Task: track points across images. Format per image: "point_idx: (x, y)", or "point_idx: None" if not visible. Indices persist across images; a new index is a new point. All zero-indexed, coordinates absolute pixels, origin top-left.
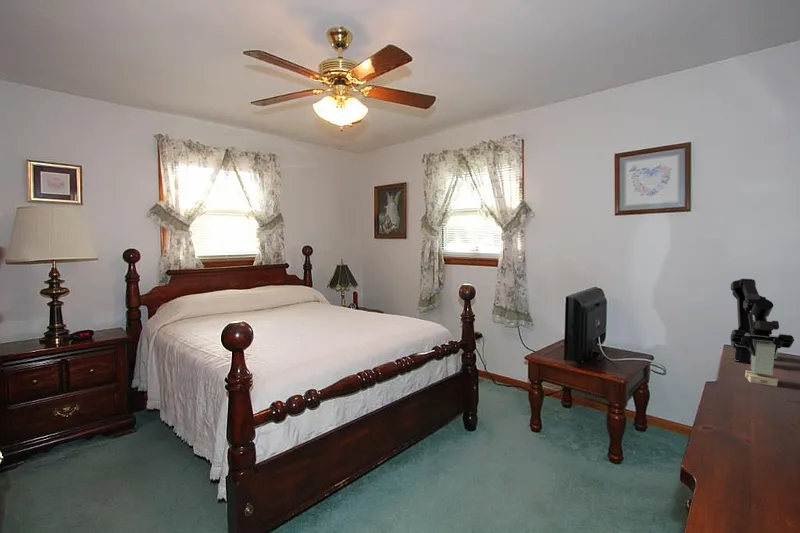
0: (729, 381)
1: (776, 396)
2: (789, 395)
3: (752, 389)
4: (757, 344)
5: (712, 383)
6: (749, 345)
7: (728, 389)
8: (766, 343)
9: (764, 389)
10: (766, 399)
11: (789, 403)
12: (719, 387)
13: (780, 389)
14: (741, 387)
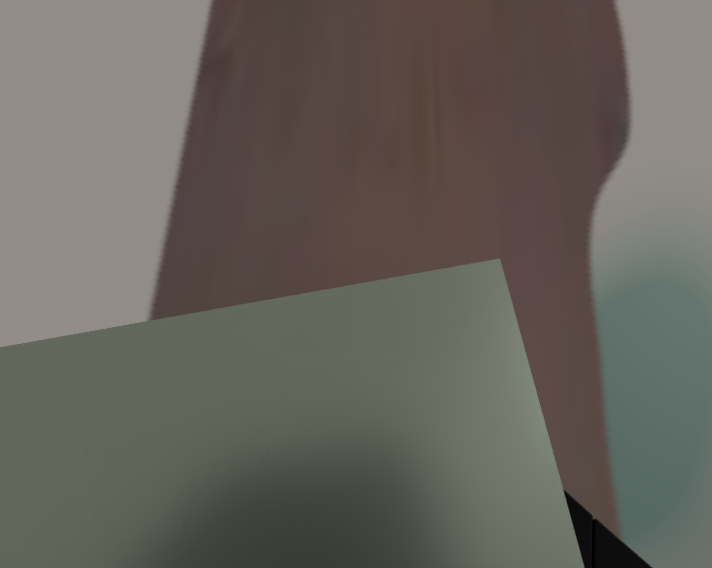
0: (539, 246)
1: (273, 104)
2: (196, 182)
3: (396, 154)
4: (458, 271)
5: (624, 111)
6: (636, 566)
7: (522, 51)
8: (149, 499)
9: (327, 211)
10: (330, 9)
11: (224, 21)
12: (573, 55)
13: (227, 292)
14: (458, 151)
